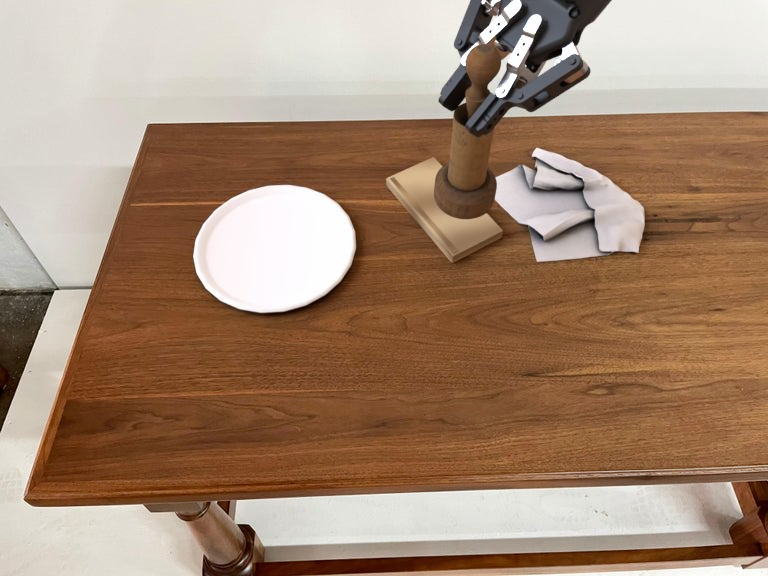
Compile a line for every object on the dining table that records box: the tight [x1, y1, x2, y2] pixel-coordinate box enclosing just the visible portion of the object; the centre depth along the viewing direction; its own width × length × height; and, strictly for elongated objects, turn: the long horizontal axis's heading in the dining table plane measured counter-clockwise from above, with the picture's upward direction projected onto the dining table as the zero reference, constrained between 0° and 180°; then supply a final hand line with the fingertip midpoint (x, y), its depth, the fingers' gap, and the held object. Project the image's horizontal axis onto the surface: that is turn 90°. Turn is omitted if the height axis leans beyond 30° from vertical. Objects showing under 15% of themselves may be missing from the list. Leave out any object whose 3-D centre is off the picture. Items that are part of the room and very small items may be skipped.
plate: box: [193, 184, 357, 314], centre depth 78 cm, size 21×21×1 cm
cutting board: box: [385, 156, 504, 264], centre depth 81 cm, size 16×8×2 cm, turn 32°
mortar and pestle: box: [434, 44, 502, 219], centre depth 57 cm, size 7×6×18 cm
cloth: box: [494, 147, 646, 263], centre depth 81 cm, size 20×22×2 cm
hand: (458, 119), depth 55 cm, fingers closed on mortar and pestle, 3 cm apart
